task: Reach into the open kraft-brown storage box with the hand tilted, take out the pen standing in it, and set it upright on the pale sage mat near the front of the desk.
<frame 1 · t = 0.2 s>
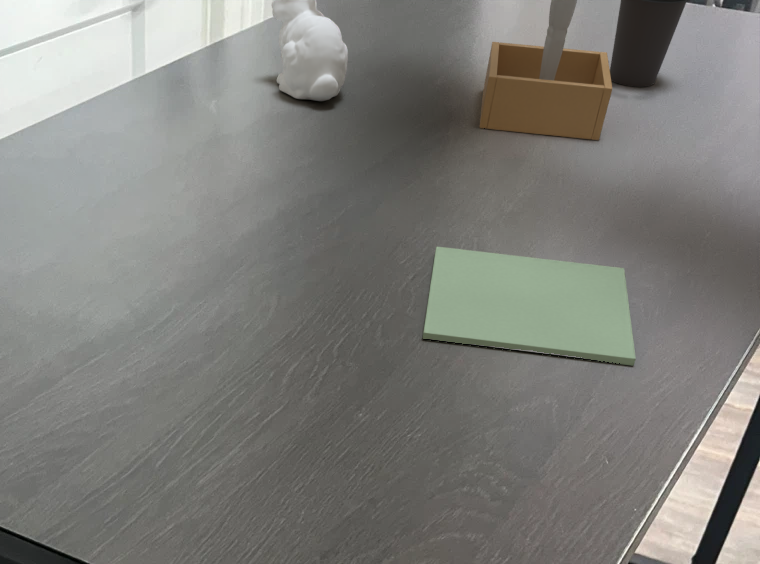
coffee cup: (631, 81, 131), on the table
rabbit: (307, 90, 125), on the table
mat: (527, 305, 89), on the table
storage box: (538, 114, 121), on the table
pen: (538, 116, 121), resting in storage box
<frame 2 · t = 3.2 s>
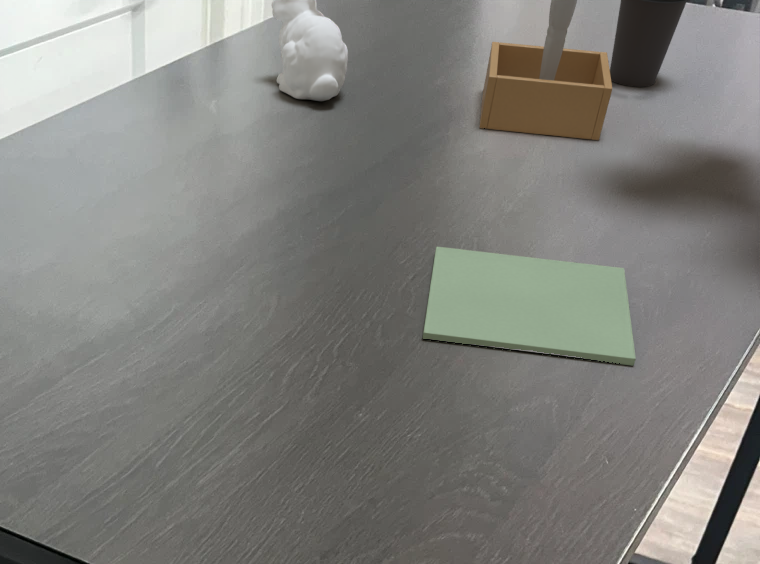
nothing on the table moved.
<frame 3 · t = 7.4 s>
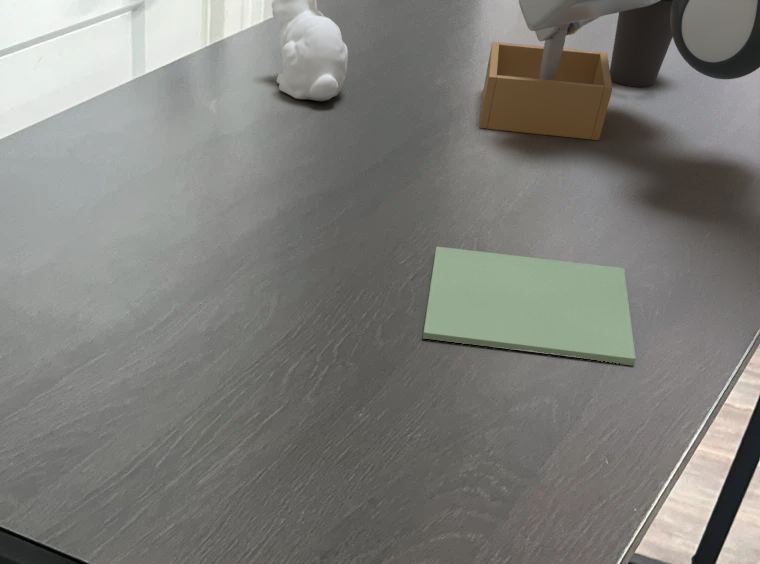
hand: (552, 31, 116), 8 cm above the table, tool tilted 45°, fingers closed on pen, 2 cm apart
pen: (538, 116, 121), resting in storage box, touching gripper
everything else where it was.
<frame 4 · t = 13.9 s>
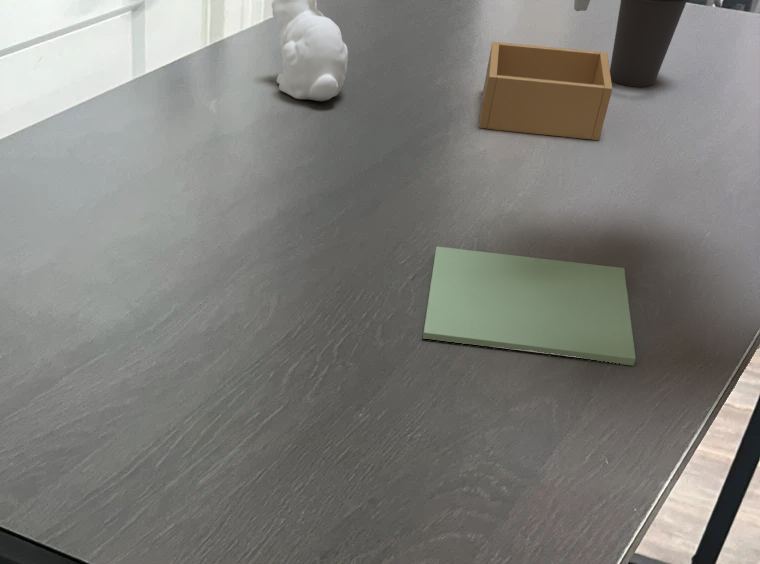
pen: (578, 13, 90), point 16 cm above the table, touching gripper
everything else where it was.
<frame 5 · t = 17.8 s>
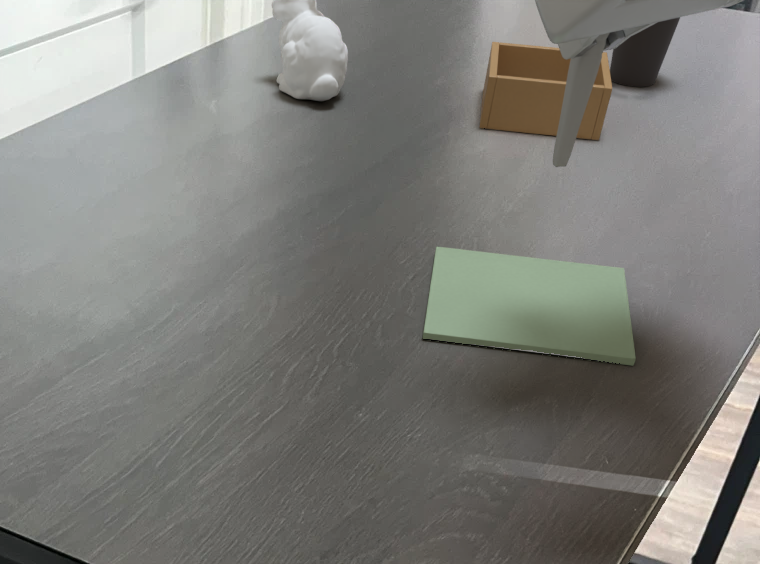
hand: (583, 44, 76), 19 cm above the table, tool tilted 45°, fingers closed on pen, 2 cm apart
pen: (557, 169, 82), point 11 cm above the table, touching gripper
everything else where it was.
when the fingers open (8 cm above the table, at t = 20.7 s): pen stays where it is, resting on mat.
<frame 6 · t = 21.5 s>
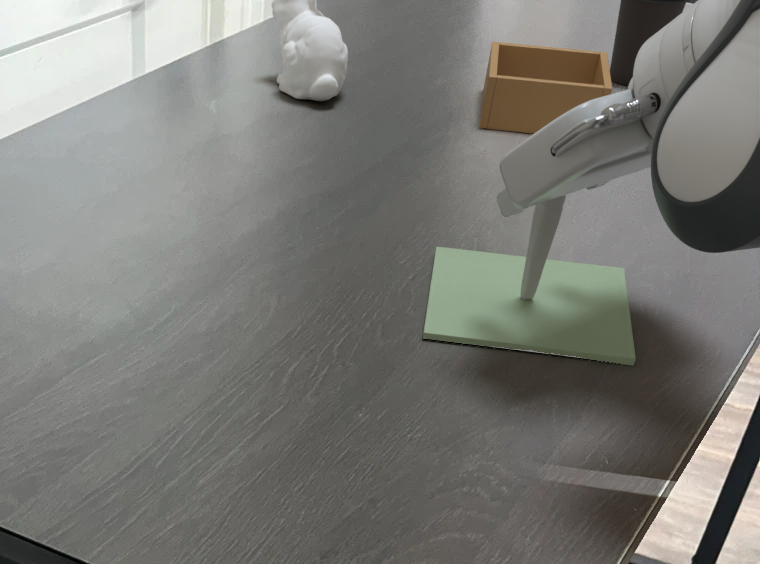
hand: (548, 192, 84), 9 cm above the table, tool tilted 45°, fingers open, 8 cm apart
pen: (525, 301, 89), resting on mat
everything else where it was.
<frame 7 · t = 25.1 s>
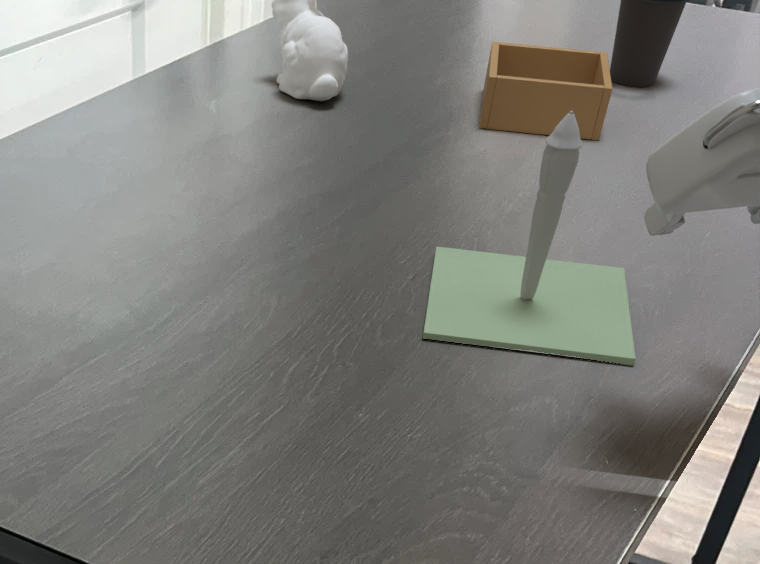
hand: (706, 219, 75), 11 cm above the table, tool tilted 40°, fingers open, 8 cm apart
nothing on the table moved.
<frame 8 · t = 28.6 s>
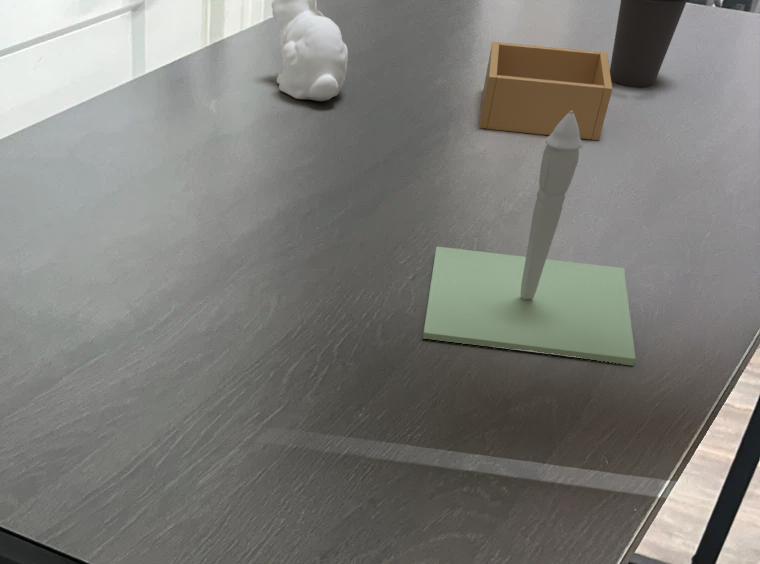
nothing on the table moved.
at the end: pen inside the target area on the mat (0.3 cm from its centre), point 0.4 cm above the mat's base; pen tilted 0°; the gripper is holding nothing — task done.
